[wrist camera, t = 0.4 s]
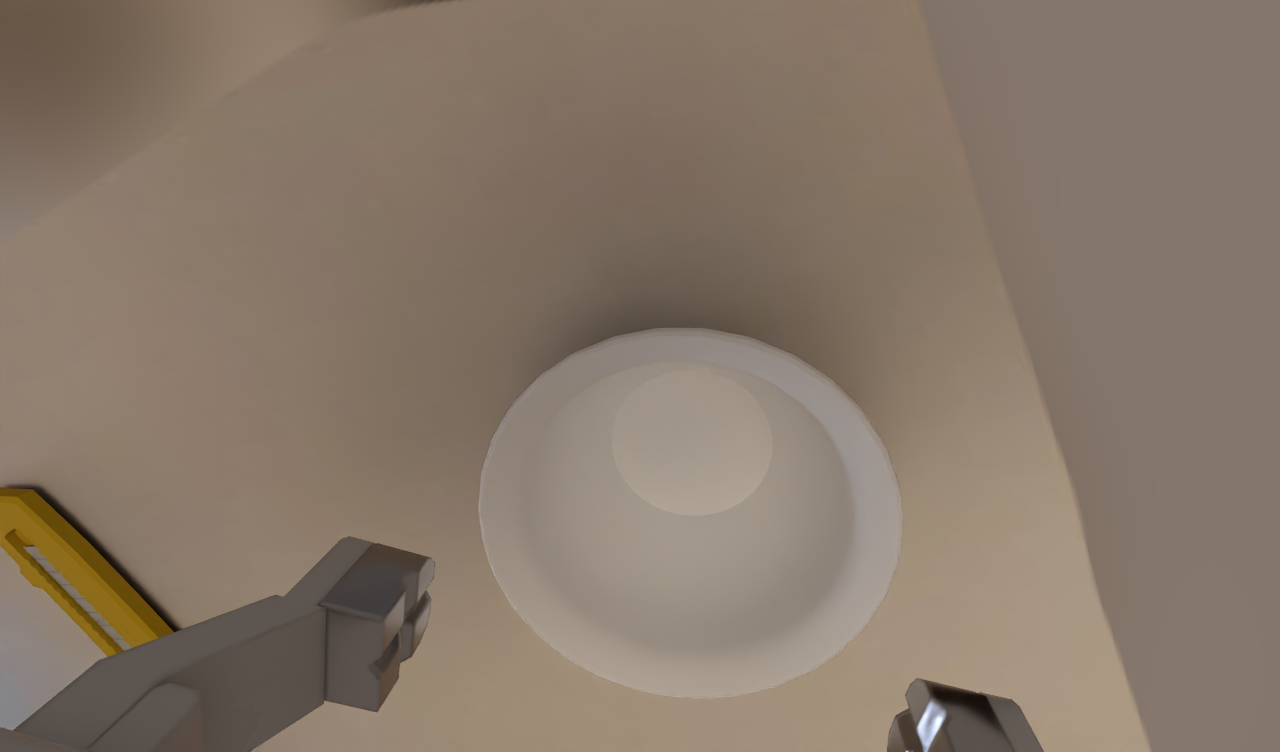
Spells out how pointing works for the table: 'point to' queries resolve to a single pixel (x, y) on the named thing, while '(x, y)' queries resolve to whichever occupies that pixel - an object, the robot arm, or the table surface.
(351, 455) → the table surface
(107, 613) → the utility knife
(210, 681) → the robot arm
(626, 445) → the bowl
